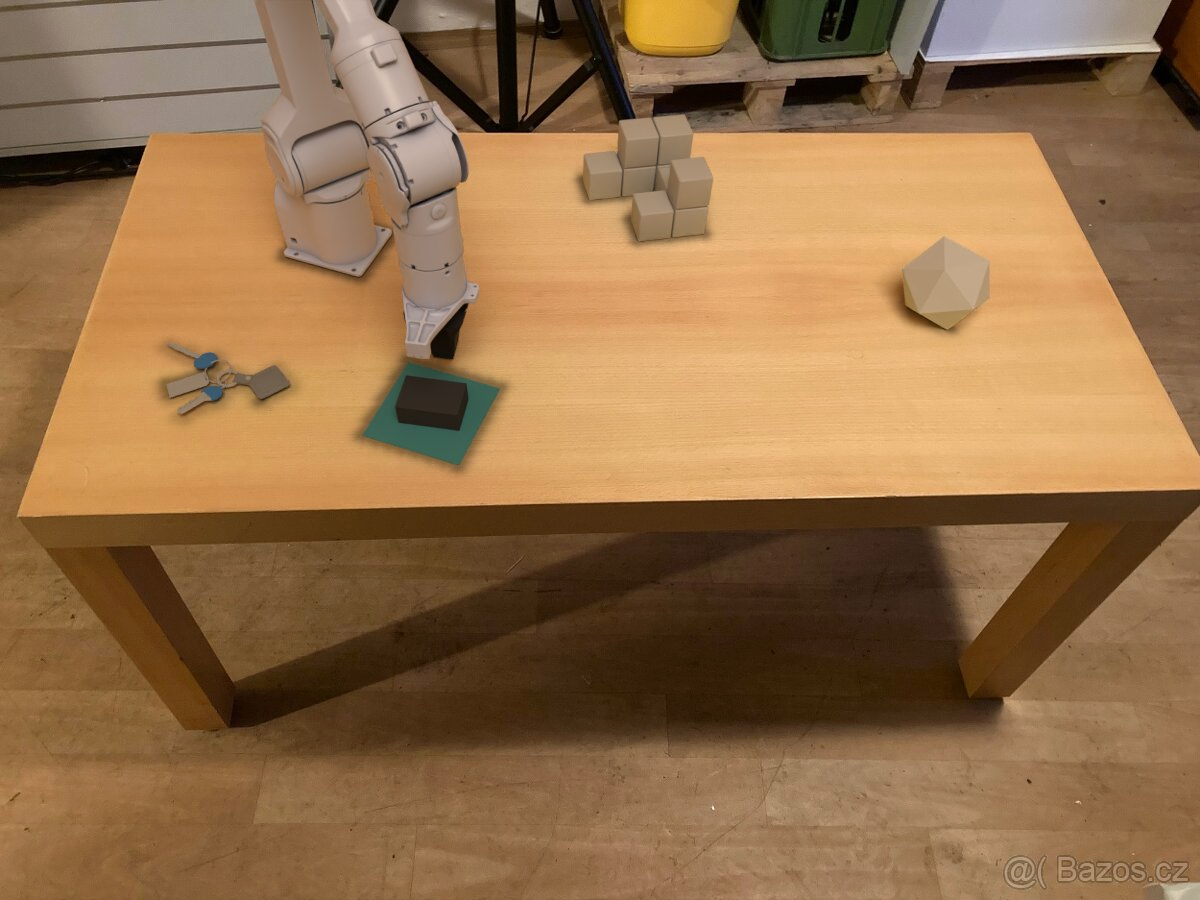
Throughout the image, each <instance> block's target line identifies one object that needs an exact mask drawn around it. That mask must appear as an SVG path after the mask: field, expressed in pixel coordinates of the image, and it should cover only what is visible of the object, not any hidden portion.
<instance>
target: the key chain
mask: <svg viewBox="0 0 1200 900" xmlns="http://www.w3.org/2000/svg"><path fill="white" fill-rule="evenodd" d="M165 345H166V346H167V347H170V348H172V349H173V350H175V351H177V352H180V353H182V354H184V355H185V356H189V357H192V358H194V361H193V366H194V367H195V368H196V369H199V370H202V369H203V370H204V371H202V372H199V373H196V374H193V375H190V376H187V377H184V378H181V379H177V380H174V381H172V382H169V383H166V384H165V385H166V389H167V392H168V397H169V399H171V398H174V397H178V396H180V395H182V394H186V393H189V392H192V391H195V390H199V389H201V388H203V389H202V390H201V391H200V395H199V394H198V395H196V396H195V397H194V399H191V400H188V402H186V403H184V405H183V406H179V407H178V409H176V411H177V414H178V415H184V414H185V413H187V412H188V411H190V410H192V409H193V408H195V407H198V406H199V405H200V404H202V403H204V402H214V401H217V400H219V399H220V398H221V397H222V396H223V393H224V391H223V389H225V388H226V389H229V388H233V387H234V386H236V385H245V386H249V388H250V389H251V390H252V391H253V393H254V394H255V395H256V396H257V398H258V399H259V400H264V399H266V398H267V397H270V396H271V395H273V394H275V393H278V392H279V391H282V390H283V389H286V388H287V387H289V386H290V384H291V383H290V381H289V380H288V378H287V377H286V376H285V375H284V374H283V372H282V371H281V370H280V368H279V367H278V366H277V365H275V364H273V365H271V366H269V367H266V368H265V369H263V370H260V371H258V372H256V373H254V374H246V373H241V372H238V371H237V370H235V369H232V365H231V363H230V361H228V360H226V359H218V355H217V354H216V353H215V352H211V351H210V352H204V353H202V354H200V353H199V352H195V351H192V350H190V349H189V348H186V347H184V346H180V345H179V344H176V343H173V342H171V341H167V342H166V343H165ZM217 362H225V363H226V364H227V365H228V366H229V369H225V370H222V371H221V372H219V374H218V375H217V377H216V381H213V380H211V379H210V378H209V376H208V374H207V370H208V368H211V367H212V366H214V365H215V364H216V363H217ZM226 374H228V375H227V376H226V377H225V378H223V379H222V380H221V378H222V377H223V376H224V375H226ZM231 374H235V375H234V377H233V380H232V382H231V383H228V381H227V379H228V378H229V377H230V375H231ZM223 382H224V383H223ZM210 383H212V384H217V385H209V384H210Z"/></svg>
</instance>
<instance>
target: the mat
mask: <svg viewBox="0 0 1200 900" xmlns="http://www.w3.org/2000/svg"><path fill="white" fill-rule="evenodd" d="M406 375H408V376H416V377H423V378H431V379H438V380H446V381H454V382H461V383H467V390H468V399H469V400H468V403H467V407H466V410H465V414H464V417H463V421H462V424H461V428H460V431H456V430H448V429H441V428H434V427H426V426H419V425H411V424H404V423H399V422H398V418H397V413H396V409H395V405H396V402H397V399H398V397H399V394H400V391H401V388H402V385H403V382H404V379H405V377H406ZM500 390H501V388H500V387H498V386H497V387H496V386H493V385H490V384H487V383H483V382H479V381H477V380H473V379H470V378H467V377H463V376H460V375H456V374H452V373H450V372H445V371H443V370H438V369H435V368H431V367H429V366H426V365H425V366H424V365H422V364H417V363H414V362H412V361H407V363H406V365H405V366H404V368H403V369H402V371H401V373H400V374H399V376H398V377H397V379H396V380H395V382H394V384H393V385H392V387H391V389H390V390H389V391H388V394H387V395H386V397H385V398H384V399H383V402H382V403H381V405H379V408H378V410H377V411H376V412H375V414H374V416H373V418H372V419H371V420H370V422H369V424H368V426H367V427H366V428H365V430H364V431H363V433H362V437H365V438H368V439H372V440H375V441H378V442H381V443H383V444H384V443H385V444H387V445H391V446H393V447H397V448H401V449H404V450H406V451H407V450H408V451H410V452H414V453H416V454H420V455H423V456H425V457H426V456H427V457H430V458H433V459H435V460H439V461H443V462H445V463H449V464H452V465H456V466H460V465H461V463H462V462H463V459H464V457H465V455H466V454H467V452H468V450H469V448H470V446H471V445H472V443H473V440H474V439H475V438H476V435H477V433H478V431H479V429H480V427H481V425H482V423H483V422H484V420H485V418H486V416H487V414H488V412H489V411H490V408H491V407H492V405H493V403H494V401H495V400H496V398H497V396H498V393H499V392H500Z"/></svg>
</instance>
